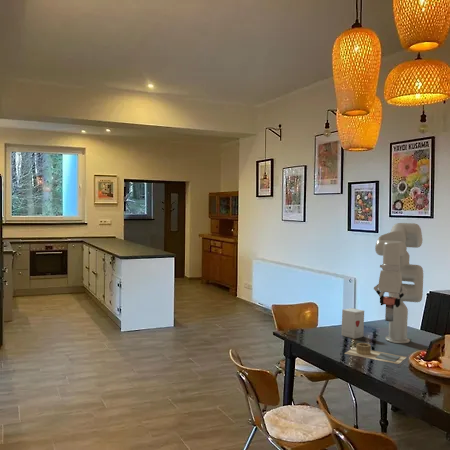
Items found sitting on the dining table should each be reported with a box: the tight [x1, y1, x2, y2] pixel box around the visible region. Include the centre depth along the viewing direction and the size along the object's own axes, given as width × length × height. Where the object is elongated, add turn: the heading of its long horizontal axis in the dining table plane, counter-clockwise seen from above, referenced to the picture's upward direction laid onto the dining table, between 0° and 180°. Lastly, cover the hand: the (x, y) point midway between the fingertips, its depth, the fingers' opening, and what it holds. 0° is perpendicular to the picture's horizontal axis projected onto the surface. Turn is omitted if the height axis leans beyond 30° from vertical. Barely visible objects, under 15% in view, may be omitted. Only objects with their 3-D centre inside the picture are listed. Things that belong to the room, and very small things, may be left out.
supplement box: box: [341, 307, 365, 339], centre depth 279 cm, size 9×9×15 cm
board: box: [344, 342, 408, 368], centre depth 238 cm, size 14×26×6 cm, turn 55°
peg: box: [383, 295, 397, 322], centre depth 234 cm, size 6×6×11 cm
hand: (389, 305), depth 234 cm, fingers closed on peg, 6 cm apart
